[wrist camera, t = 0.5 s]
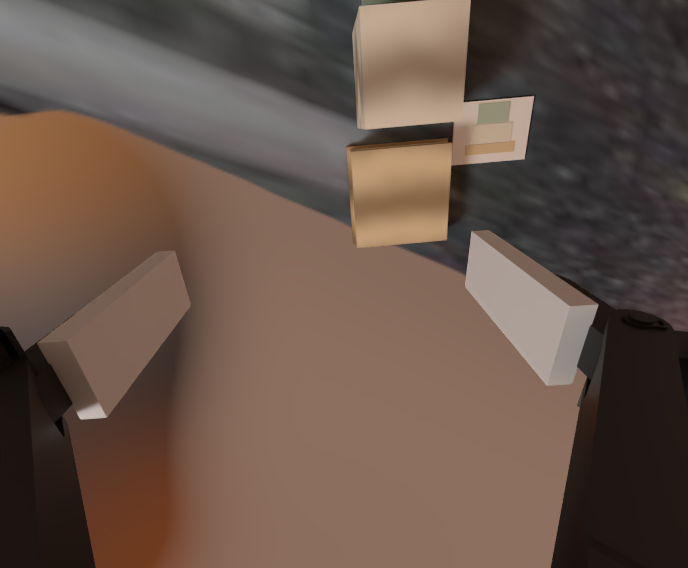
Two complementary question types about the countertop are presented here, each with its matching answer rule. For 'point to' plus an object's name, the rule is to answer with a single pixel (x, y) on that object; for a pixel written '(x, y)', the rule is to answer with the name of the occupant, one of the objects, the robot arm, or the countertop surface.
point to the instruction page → (492, 131)
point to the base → (399, 192)
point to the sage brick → (380, 1)
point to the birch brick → (410, 62)
